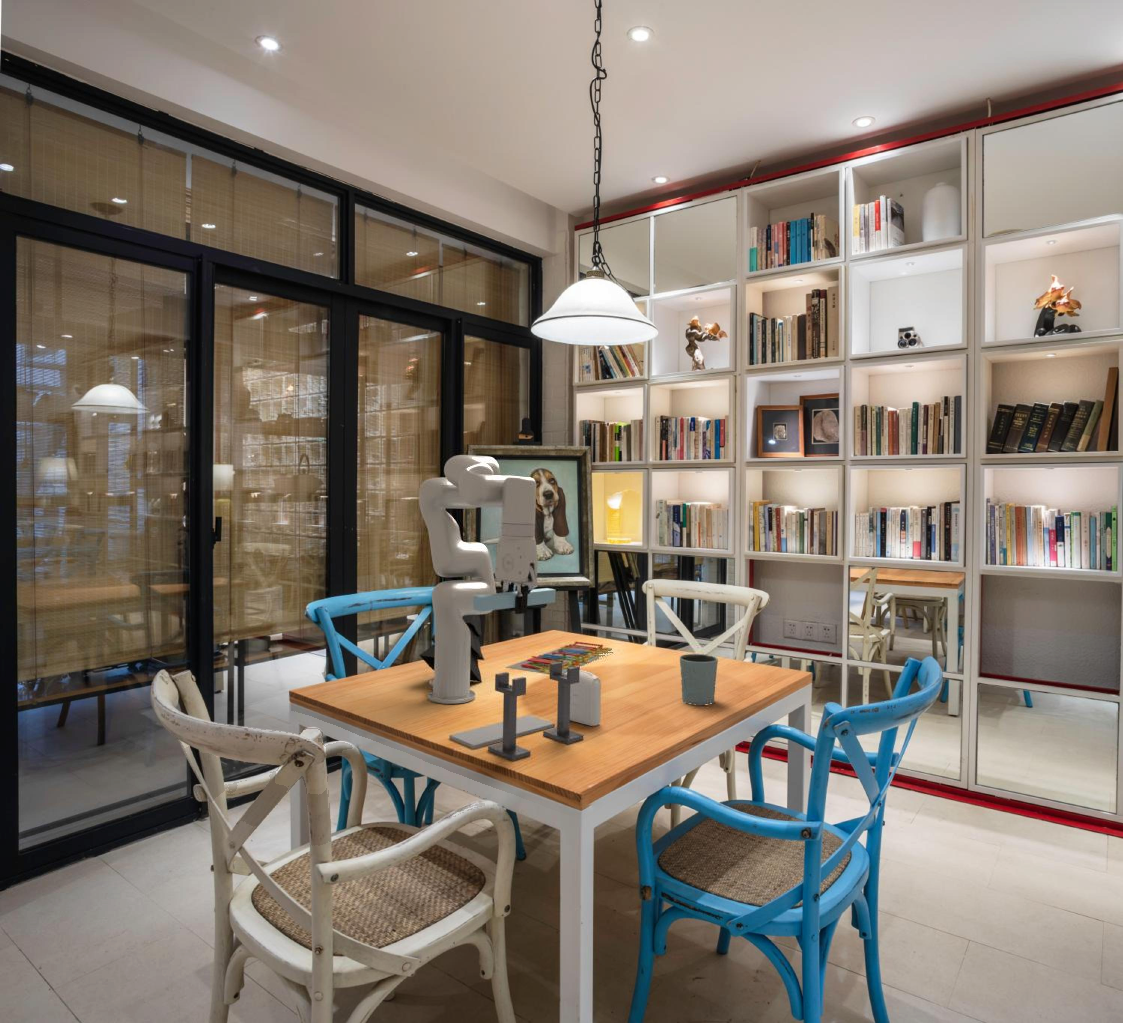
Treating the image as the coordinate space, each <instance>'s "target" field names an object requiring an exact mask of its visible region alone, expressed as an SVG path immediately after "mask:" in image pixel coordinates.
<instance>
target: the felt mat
mask: <svg viewBox="0 0 1123 1023" xmlns="http://www.w3.org/2000/svg"><path fill="white" fill-rule="evenodd" d="M555 725H556V723H555V722H551V721H548V720H545V719H543V718H540V717H537V716H534V715H531V714H528V715H524V716H520V717H516V738H520V737H522V736H526V735H530V734H533V733H536V732H537V733H538V732H540V731H546V730H549V729H553V728H556V726H555ZM449 740H451V741H454V742H456V743H458V744H461V745H463V746H465V747H469V748H471V749H473V750H475V749H479V748H482V747H487V746H491V745H495V744H499V743H502V742H503V721H499V722H496V723H492V724H489V725H488V724H487V725H485V726H479V727H477V728H476V727H475V728H472V729H469V730H465V731H461V732H460V731H459V732H457V733H453V734H452V733H451V734H450V735H449Z"/></svg>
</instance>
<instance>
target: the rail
mask: <svg viewBox="0 0 1123 1023" xmlns="http://www.w3.org/2000/svg"><path fill="white" fill-rule="evenodd" d="M556 595H557V592H556V589H554V588H549V587H546V588H545V587H544V588H534V589H532V590H531V592H530V595H529V596H528V601H527V607H529V606H537V605H546V604H553V603H556ZM516 596H518V595H517V590H515V592H505V593H503V592H498V593H497V592H496V594H486V595H476V596H474V598H473V610H477V611H490V610H493V611H497V610H504V609H506V608H514V607H515V597H516Z"/></svg>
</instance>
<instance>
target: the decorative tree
mask: <svg viewBox="0 0 1123 1023" xmlns="http://www.w3.org/2000/svg"><path fill="white" fill-rule="evenodd" d="M462 619H463V620H464V622H465V623H466V625H467V626H468V627H469V630H470V634H471V647H470V682H476V683H477V682H478V683H483V681H482V675H481V674H482V673H481V671H480V668H479V661H485V658H484V656H483V653H482V650H481V648H482V647H481V643H480V639H479V637H482V625H481V624H482V623H481V617H480V614H478V615H467V616H462ZM430 639H431V641H432V642H433V644H432V645H430V647H428V648H427V649H426V650H425V651H423V652H421V653H420V654H419V655H418V656H419V657H420V658H421V659H422V660H423V662H425V663H426V665H428V667H430V668H431V670H433V671H434V665H435V634H434V635H433V636H431V637H430Z"/></svg>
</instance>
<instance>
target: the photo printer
mask: <svg viewBox="0 0 1123 1023" xmlns="http://www.w3.org/2000/svg"><path fill="white" fill-rule="evenodd" d="M565 674H566V675H567V672H566V673H565ZM601 688H602V683H601V680H600V678H599V677H598V676H597V675H596V674H593V673H592V672H590V671H586V670H583V669H580V675H579V683H574V684H570V721H571V722H576V723H579V724H583V725H585V726H586V725H587V726H591V727H597V726H598V725H600V722H601V714H602V713H601V709H602V708H601V702H602V701H601V700H602V699H601V698H602V697H601V695H602V690H601Z"/></svg>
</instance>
